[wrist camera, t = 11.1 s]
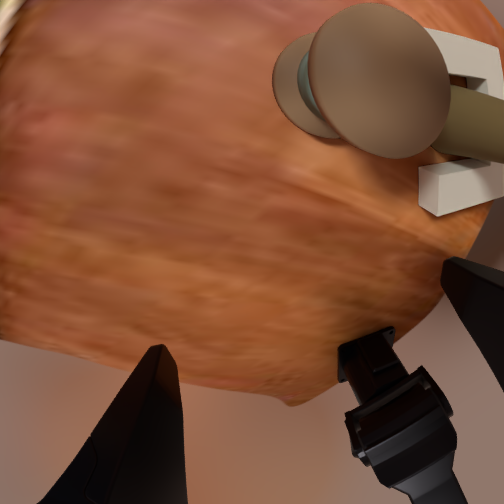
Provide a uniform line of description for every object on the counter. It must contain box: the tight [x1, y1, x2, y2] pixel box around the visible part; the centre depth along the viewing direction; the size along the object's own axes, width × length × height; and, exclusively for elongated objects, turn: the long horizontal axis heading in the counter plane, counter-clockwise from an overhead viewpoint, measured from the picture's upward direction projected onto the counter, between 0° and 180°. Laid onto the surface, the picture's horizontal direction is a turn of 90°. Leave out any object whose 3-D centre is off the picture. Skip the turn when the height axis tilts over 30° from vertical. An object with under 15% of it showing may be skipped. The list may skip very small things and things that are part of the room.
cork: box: [431, 84, 504, 164], centre depth 12 cm, size 6×6×11 cm
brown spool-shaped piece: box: [272, 3, 451, 159], centre depth 12 cm, size 7×7×8 cm
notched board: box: [418, 28, 504, 217], centre depth 16 cm, size 14×10×2 cm
